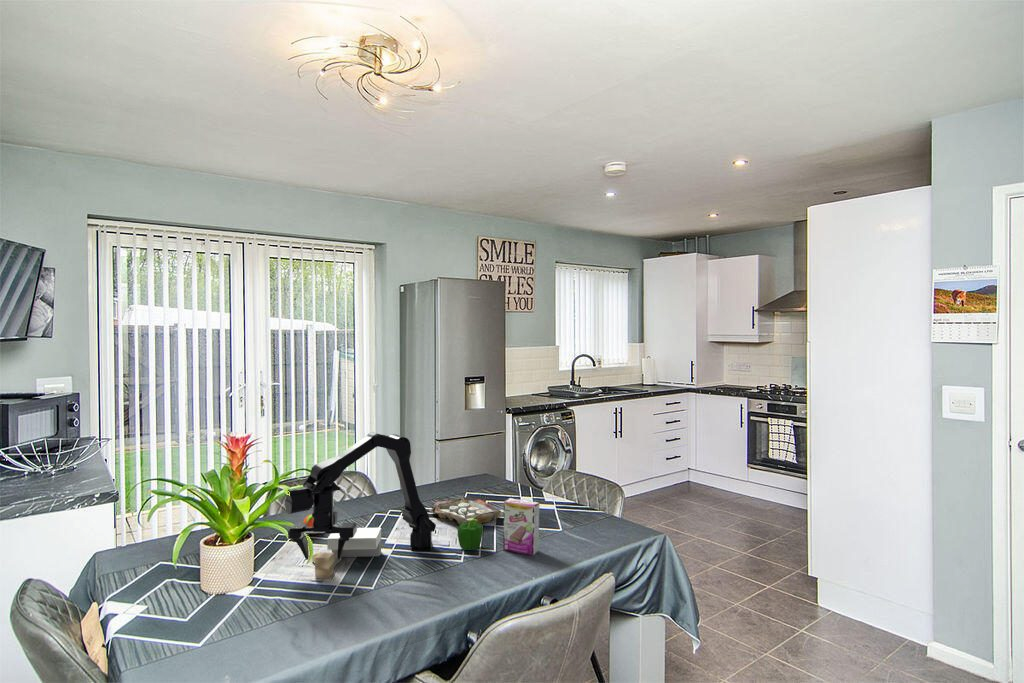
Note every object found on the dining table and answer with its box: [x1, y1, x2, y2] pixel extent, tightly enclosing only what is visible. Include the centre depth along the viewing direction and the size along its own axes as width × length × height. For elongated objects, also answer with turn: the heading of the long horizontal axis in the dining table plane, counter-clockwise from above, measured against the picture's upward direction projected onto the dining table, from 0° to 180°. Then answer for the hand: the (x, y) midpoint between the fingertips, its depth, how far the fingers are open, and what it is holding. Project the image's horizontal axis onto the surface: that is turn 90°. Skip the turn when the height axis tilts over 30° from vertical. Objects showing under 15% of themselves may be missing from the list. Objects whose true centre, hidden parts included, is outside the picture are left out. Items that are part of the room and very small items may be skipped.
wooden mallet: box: [314, 551, 343, 579], centre depth 174 cm, size 4×15×6 cm, turn 176°
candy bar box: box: [502, 497, 540, 556], centre depth 187 cm, size 11×5×16 cm, turn 65°
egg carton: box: [429, 496, 504, 525], centre depth 221 cm, size 30×22×5 cm
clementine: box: [302, 513, 313, 527], centre depth 201 cm, size 8×7×7 cm
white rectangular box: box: [326, 527, 382, 558], centre depth 181 cm, size 15×9×8 cm, turn 94°
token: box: [311, 552, 320, 563], centre depth 179 cm, size 5×5×2 cm
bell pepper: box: [457, 519, 484, 551], centre depth 190 cm, size 8×8×10 cm
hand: (323, 559), depth 168 cm, fingers open, 9 cm apart
